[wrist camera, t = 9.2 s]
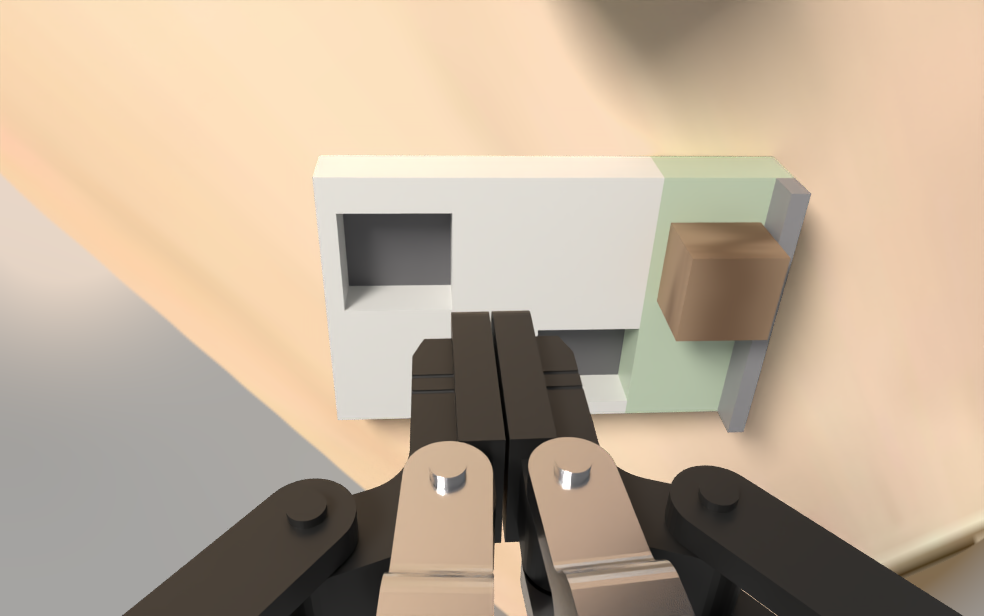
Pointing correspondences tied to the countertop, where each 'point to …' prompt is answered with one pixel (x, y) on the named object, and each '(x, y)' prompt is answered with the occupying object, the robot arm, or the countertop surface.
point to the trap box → (536, 267)
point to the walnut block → (721, 281)
